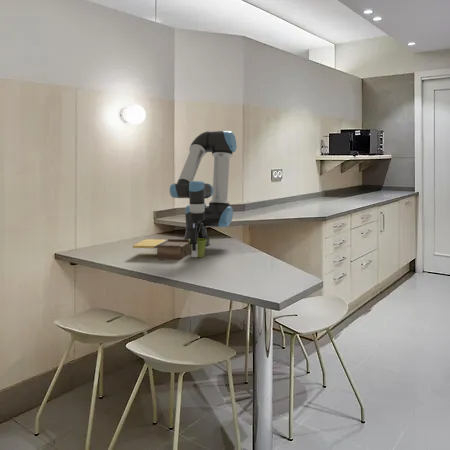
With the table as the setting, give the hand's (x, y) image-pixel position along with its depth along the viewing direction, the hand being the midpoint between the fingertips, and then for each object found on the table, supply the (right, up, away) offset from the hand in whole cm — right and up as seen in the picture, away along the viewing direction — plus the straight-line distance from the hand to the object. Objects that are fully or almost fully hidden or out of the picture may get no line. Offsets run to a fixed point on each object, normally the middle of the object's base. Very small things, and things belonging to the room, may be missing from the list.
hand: (198, 254), depth 252 cm
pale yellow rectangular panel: (-19, +5, +3) cm, 20 cm away
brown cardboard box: (-12, -1, +3) cm, 13 cm away
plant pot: (0, -1, 0) cm, 1 cm away
